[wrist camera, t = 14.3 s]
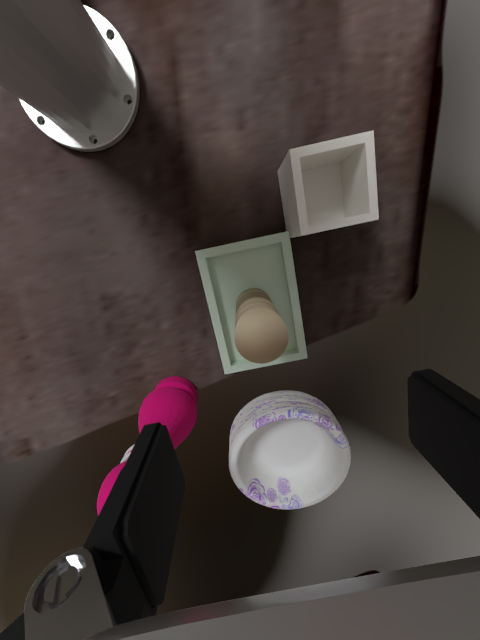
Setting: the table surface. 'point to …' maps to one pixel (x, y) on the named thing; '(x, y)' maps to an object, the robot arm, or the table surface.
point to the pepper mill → (161, 420)
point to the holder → (329, 185)
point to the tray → (244, 273)
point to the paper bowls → (287, 450)
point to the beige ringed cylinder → (259, 327)
